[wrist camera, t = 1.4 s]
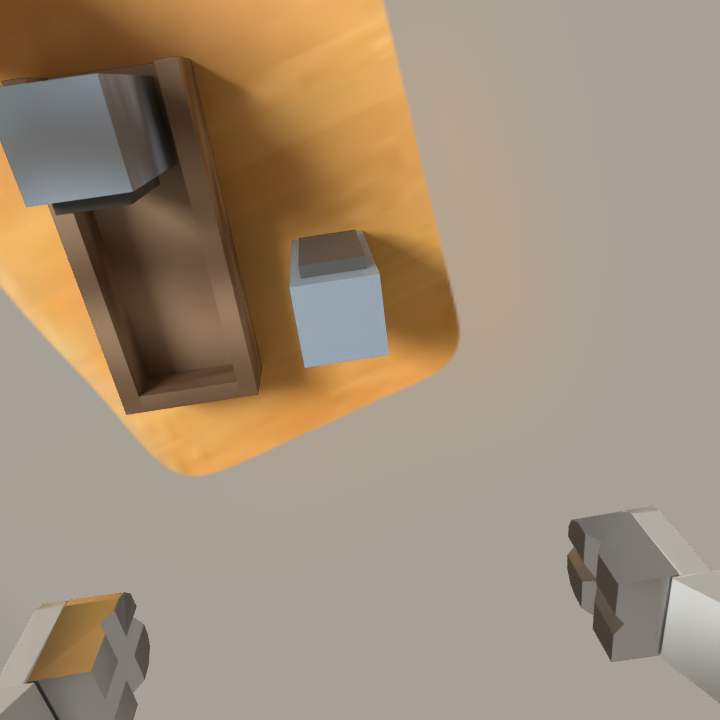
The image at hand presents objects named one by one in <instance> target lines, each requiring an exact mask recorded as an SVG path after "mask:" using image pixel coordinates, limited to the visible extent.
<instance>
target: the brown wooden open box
mask: <svg viewBox="0 0 720 720" xmlns="http://www.w3.org/2000/svg"><path fill="white" fill-rule="evenodd" d="M153 61H154V63H151V64H144V65H137V66H130V67H123V68H115V69H108V70H101V71H94V72H87V73H80V74H72V75H65V76H58V77H51V78H19V79H11V80H4V81H2V84H3V87H0V141H1V144H2V147H3V149H4V152H5V154H6V157H7V159H8V162H9V164H10V167H11V169H12V172H13V175H14V177H15V180H16V182H17V185H18V187H19V190H20V192H21V195H22V197H23V200H24V203H25V205H26V207H32V206H39V205H46V204H48V207H49V209H50V212H51V215H52V217H53V220H54V223H55V225H56V228H57V231H58V233H59V236H60V239H61V241H62V244H63V247H64V249H65V252H66V255H67V257H68V260H69V263H70V265H71V268H72V271H73V273H74V276H75V279H76V281H77V284H78V287H79V289H80V292H81V295H82V297H83V300H84V303H85V305H86V308H87V311H88V313H89V316H90V319H91V321H92V324H93V327H94V329H95V332H96V335H97V337H98V340H99V343H100V345H101V348H102V351H103V353H104V356H105V359H106V361H107V364H108V367H109V369H110V372H111V375H112V377H113V380H114V383H115V386H116V388H117V391H118V394H119V396H120V399H121V402H122V404H123V407H124V410H125V412H126V415H128V414H135V413H141V412H148V411H154V410H161V409H167V408H173V407H180V406H186V405H193V404H199V403H206V402H212V401H218V400H225V399H231V398H238V397H244V396H251V395H257V394H258V393H259V386H260V379H261V372H262V364H261V360H260V356H259V351H258V347H257V343H256V338H255V334H254V330H253V326H252V321H251V317H250V313H249V308H248V304H247V300H246V295H245V291H244V287H243V283H242V278H241V274H240V270H239V265H238V261H237V257H236V252H235V248H234V244H233V240H232V235H231V231H230V227H229V222H228V218H227V214H226V209H225V205H224V201H223V197H222V192H221V188H220V184H219V179H218V175H217V171H216V167H215V162H214V158H213V154H212V149H211V145H210V141H209V136H208V132H207V128H206V124H205V119H204V115H203V111H202V106H201V102H200V98H199V93H198V89H197V85H196V81H195V76H194V72H193V68H192V63H191V59H187V58H182V57H177V56H176V57H169V58H162V59H155V60H153Z"/></svg>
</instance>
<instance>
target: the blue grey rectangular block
mask: <svg viewBox="0 0 720 720" xmlns="http://www.w3.org/2000/svg"><path fill="white" fill-rule="evenodd" d="M289 289H290V294H291V299H292V304H293V310H294V315H295V320H296V325H297V330H298V335H299V341H300V346H301V351H302V356H303V361H304V366H305V368H309V367H315V366H321V365H328V364H334V363H341V362H347V361H354V360H360V359H367V358H373V357H380V356H386V355H389V350H388V341H387V333H386V324H385V315H384V306H383V298H382V289H381V280H380V273H379V271H378V268H377V266H376V263H375V261H374V258H373V256H372V253H371V251H370V248H369V246H368V243H367V241H366V239H365V236H364V234H363V231H357V232H356V231H355V230H351V231H344V232H337V233H331V234H324V235H317V236H311V237H304V238H299V240H297V241H292V253H291V268H290V284H289Z"/></svg>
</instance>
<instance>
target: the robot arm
mask: <svg viewBox="0 0 720 720" xmlns="http://www.w3.org/2000/svg"><path fill="white" fill-rule="evenodd" d="M568 537H569V539H570V541H571V542H572V544H573V546H574V547H573V549H572V550H571V551H570V552H569V554H568V555H567V569H568V574H569V579H570V584H571V587H572V589H573V592H574V594H575V597H576V598H577V600H578V602H579V604H580V606H581V608H583V609H584V610H586V611H587V612H589V613H591V614H592V615H594V616H593V630H594V632H595V633H596V635H597V637H598V639H599V641H600V643H601V644H602V646H603V648H604V650H605V651H606V653H607V655H608V657H609V659H610V661H611V662H615V661H622V660H630V659H637V658H644V657H651V656H658V655H661V659H662V660H664V661H665V662H666V663H668V664H669V665H670V666H672V667H673V668H674V669H676V670H677V671H678V672H680V673H681V674H682V675H683V676H685V677H686V678H687V679H689V680H690V681H691V682H693V683H694V684H695V685H697V686H698V687H699V688H701V689H702V690H703V691H704V692H706V693H707V694H708V695H710V696H711V697H712V698H714V699H715V700H716V701H718V702H719V703H720V570H715V571H712V570H711V569H710V568H709V567H708V566H707V565H706V564H705V562H704V561H703V560H702V559H701V558H700V557H699V556H698V554H697V553H696V552H695V551H694V550H693V549H692V548H691V546H689V544H688V543H687V542H686V541H685V540H684V539H683V537H682V536H681V535H680V534H679V533H678V532H677V531H676V530H675V529H674V527H673V526H672V525H671V524H670V523H669V522H668V521H667V519H666V518H665V517H664V516H663V515H662V514H661V513H660V512H659V511H658V509H656V508H654V507H652V506H649V507H643V508H637V509H632V510H626V511H624V512H622V511H621V512H616V513H610V514H604V515H598V516H592V517H587V518H581V519H574V520H571V522H570V525H569V530H568ZM135 610H136V604H135V602H134V600H133V598H132V596H131V594H130V593H125V592H124V593H117V594H109V595H102V596H94V597H87V598H80V599H73V600H70V601H62V602H55V603H47V604H43V605H41V606H40V607H39V608H38V609H36V611H35V612H34V614H33V615H32V617H31V619H30V621H29V622H28V624H27V626H26V628H25V630H24V632H23V634H22V636H21V638H20V639H19V641H18V643H17V645H16V647H15V648H14V650H13V652H12V654H11V656H10V658H9V659H8V661H7V663H6V665H5V667H4V669H3V670H2V672H1V674H0V720H133V719H134V716H135V712H136V709H137V705H138V704H137V702H136V699H135V697H134V695H133V692H134V691H135V690H136V689H137V688H138V687H139V685H140V684H141V683H142V682H143V681H144V680H145V677H146V673H147V669H148V665H149V652H150V644H149V638H148V633H147V631H146V628H145V626H144V624H143V623H141V622H139V621H138V620H136V619H135V618H133V616H134V613H135Z"/></svg>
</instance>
